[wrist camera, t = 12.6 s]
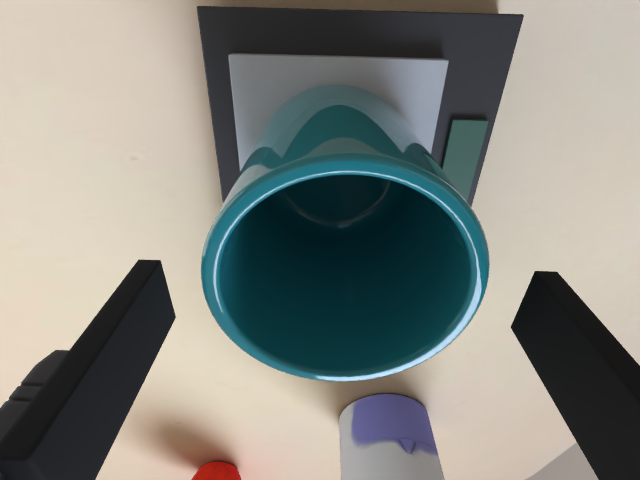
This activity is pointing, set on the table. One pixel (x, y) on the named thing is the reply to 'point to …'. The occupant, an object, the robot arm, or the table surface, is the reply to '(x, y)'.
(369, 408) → the container
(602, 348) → the robot arm
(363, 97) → the cup
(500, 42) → the scale
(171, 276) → the table surface
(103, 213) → the table surface
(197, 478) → the apple
